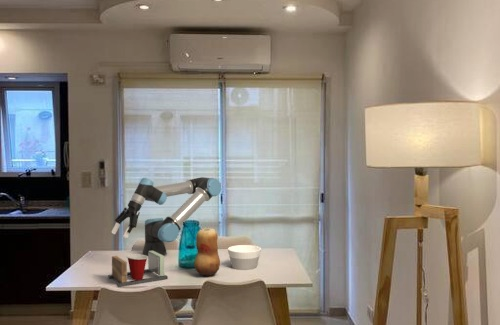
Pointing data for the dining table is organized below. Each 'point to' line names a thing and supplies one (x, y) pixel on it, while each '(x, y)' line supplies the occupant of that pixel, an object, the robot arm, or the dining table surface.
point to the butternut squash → (207, 252)
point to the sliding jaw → (156, 262)
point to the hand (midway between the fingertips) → (118, 235)
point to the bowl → (244, 256)
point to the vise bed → (128, 273)
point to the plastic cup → (137, 265)
